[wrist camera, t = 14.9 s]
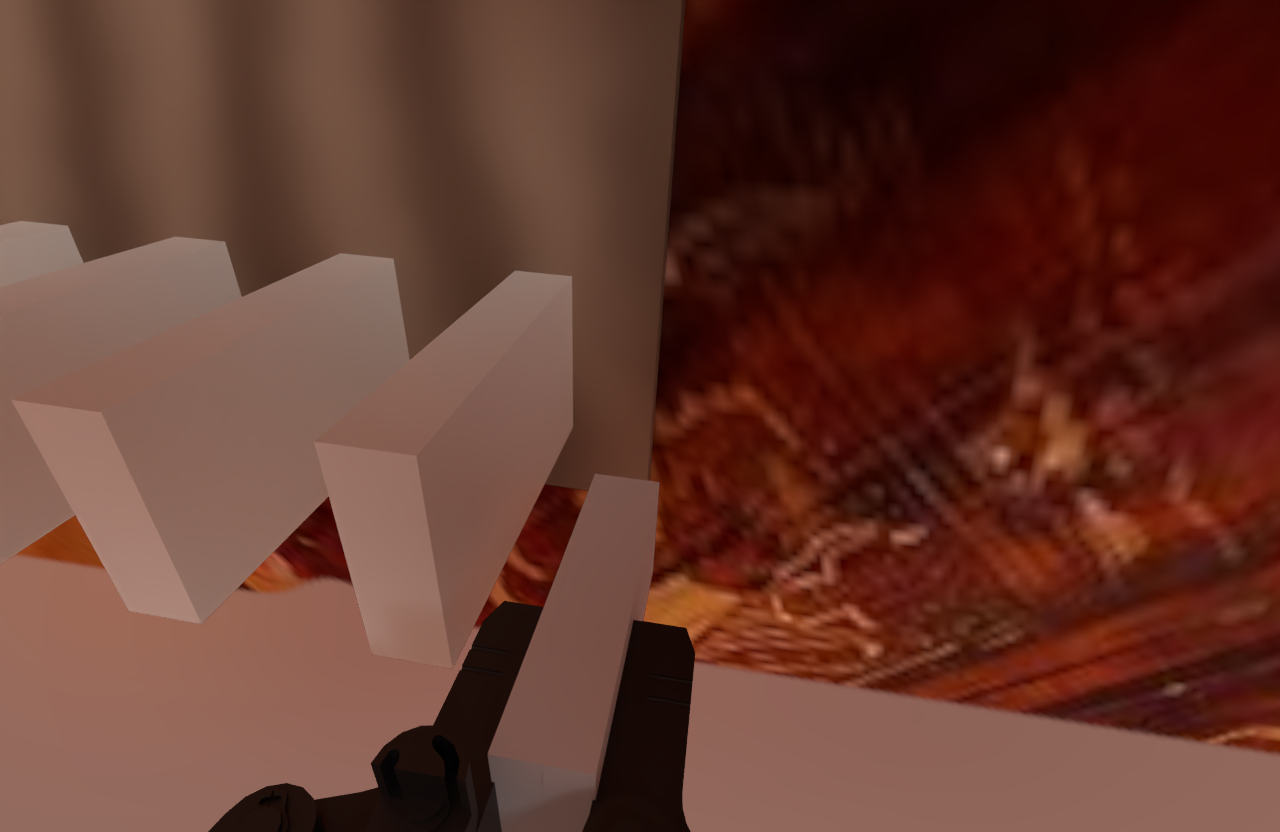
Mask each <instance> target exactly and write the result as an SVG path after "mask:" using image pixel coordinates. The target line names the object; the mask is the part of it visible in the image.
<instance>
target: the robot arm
mask: <svg viewBox="0 0 1280 832" xmlns="http://www.w3.org/2000/svg"><path fill="white" fill-rule="evenodd" d="M659 483H660V482H655V481H647V480H640V479H632V478H624V477H617V476H609V475H601V474H595V475H594V478H593V480H592V483H591V485H590V488H589V491H588V493H587V496H586V498H585V501H584V504H583V506H582V509H581V511H580V514H579V517H578V519H577V522H576V524H575V527H574V530H573V532H572V535H571V538H570V540H569V543H568V545H567V548H566V551H565V553H564V556H563V558H562V561H561V564H560V566H559V569H558V571H557V574H556V577H555V579H554V582H553V584H552V587H551V590H550V592H549V595H548V598H547V600H546V603H545V605H544V607H540V606H533V605H527V604H521V603H514V602H508V601H504V602H503V603H502V604H501V605H500V606H499V607H498V608H497V609H495V610H494V611H493V612H492V613H491V614H490V615H489V616H488V617H487V618H486V619H485V620H484V621H483V623H482V626H481V628H480V630H479V632H478V634H477V636H476V638H475V640H474V642H473V644H472V649H471V650H469V652H468V655H467V657H466V659H465V661H464V663H463V665H462V670H460V671H459V673H458V675H457V677H456V680H455V681H454V683H453V686H452V688H451V690H450V692H449V694H448V696H447V698H446V700H445V702H444V704H443V706H442V708H441V710H440V712H439V715H438V717H437V719H436V721H435V723H434V725H433V726H419V727H416V728H414V729H411V730H408V731H405V732H402V733H401V734H399V735H398V736H397V737H395V738H394V739H393V740H391V741H390V742H389V743H388V744H386V745H385V746H384V747H383V748H382V749H381V751H380V752H379V753H378V755H377V756H376V757H375V759H374V760H373V761H372V763H371V765H372V769H373V772H374V775H375V778H376V781H377V784H378V787H377V788H374V789H371V790H367V791H363V792H359V793H353V794H348V795H341V796H335V797H330V798H323V799H317V800H314V799H313V798H312V797H311V795H310V794H309V793H308V792H307V791H306V790H305V789H304V788H303V787H300V786H296V785H291V784H288V783H285V784H279V785H273V786H267V787H265V788H263V789H260V790H258V791H256V792H254V793H252V794H250V795H248V796H246V797H245V798H244V799H243V800H241V801H240V802H239V803H238V804H236V805H235V806H234V807H233V808H232V809H230V810H229V811H228V812H227V813H226V814H225V815H224V816H223V817H222V818H221V819H220V820H219V821H218V822H217V823H216V824H215V825H214V826H213V827H212V829H210V830H209V832H690V830H689V828H688V826H687V824H686V820H685V816H684V812H683V806H682V790H683V779H684V768H685V757H686V746H687V735H688V725H689V714H690V703H691V692H692V681H693V670H694V660H695V651H694V649H693V646H692V643H691V640H690V637H689V635H688V632H687V629H686V628H683V627H676V626H670V625H664V624H657V623H651V622H644V621H643V620H644V614H645V609H646V604H647V599H648V594H649V588H650V583H651V578H652V573H653V564H654V550H655V537H656V524H657V510H658V497H659Z"/></svg>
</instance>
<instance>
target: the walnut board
mask: <svg viewBox="0 0 1280 832" xmlns="http://www.w3.org/2000/svg"><path fill="white" fill-rule="evenodd" d="M685 3H686V0H0V225H4V224H9V223H14V222H18V221H27V222H37V223H47V224H56V225H66V226H68V228H69V230H70V232H71V235H72V237H73V239H74V242H75V244H76V246H77V249H78V251H79V253H80V256H81V258H82V260H83V263H86V262H89V261H92V260H96V259H99V258H103V257H106V256H110V255H113V254H117V253H120V252H124V251H127V250H131V249H134V248H138V247H141V246H144V245H148V244H151V243H155V242H158V241H162V240H165V239H169V238H172V237H185V238H195V239H205V240H215V241H224V242H225V243H226V246H227V250H228V253H229V256H230V260H231V263H232V266H233V270H234V273H235V276H236V280H237V283H238V286H239V290H240V293H241V296H242V297H243V296H245V295H248V294H250V293H252V292H254V291H257V290H259V289H261V288H263V287H266V286H268V285H270V284H272V283H275V282H277V281H279V280H281V279H284V278H286V277H288V276H290V275H293V274H295V273H297V272H299V271H302V270H304V269H306V268H308V267H311V266H313V265H315V264H317V263H320V262H322V261H324V260H326V259H329V258H331V257H333V256H335V255H338V254H340V253H343V254H353V255H363V256H373V257H383V258H392V259H394V266H395V272H396V278H397V284H398V290H399V297H400V303H401V309H402V315H403V322H404V328H405V334H406V340H407V346H408V353H409V359H410V360H411V359H412V358H413V357H414V356H415V355H416V354H418V353H419V352H420V351H421V350H422V349H424V348H425V347H426V346H427V345H428V344H429V343H431V342H432V341H433V340H434V339H435V338H436V337H438V336H439V335H440V334H441V333H442V332H444V331H445V330H446V329H447V328H448V327H449V326H451V325H452V324H453V323H454V322H455V321H456V320H458V319H459V318H460V317H461V316H462V315H464V314H465V313H466V312H467V311H468V310H469V309H471V308H472V307H473V306H474V305H475V304H476V303H478V302H479V301H480V300H481V299H482V298H484V297H485V296H486V295H487V294H488V293H489V292H491V291H492V290H493V289H494V288H495V287H496V286H498V285H499V284H500V283H501V282H502V281H504V280H505V279H506V278H507V277H508V276H509V275H511V274H512V273H513V272H514V271H524V272H534V273H544V274H554V275H564V276H572V340H573V428H572V430H571V432H570V434H569V436H568V438H567V440H566V442H565V444H564V446H563V448H562V450H561V452H560V454H559V456H558V458H557V460H556V462H555V464H554V466H553V468H552V470H551V472H550V474H549V476H548V478H547V480H546V482H545V484H546V485H553V486H560V487H567V488H574V489H581V490H588V491H589V488H590V485H591V483H592V480H593V478H594V475H595V474H601V475H609V476H617V477H624V478H632V479H640V480H647V481H650V473H651V460H652V446H653V433H654V419H655V406H656V392H657V379H658V365H659V352H660V339H661V325H662V312H663V298H664V285H665V271H666V258H667V244H668V231H669V218H670V204H671V191H672V177H673V164H674V150H675V137H676V124H677V110H678V97H679V83H680V70H681V56H682V43H683V29H684V16H685Z"/></svg>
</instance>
